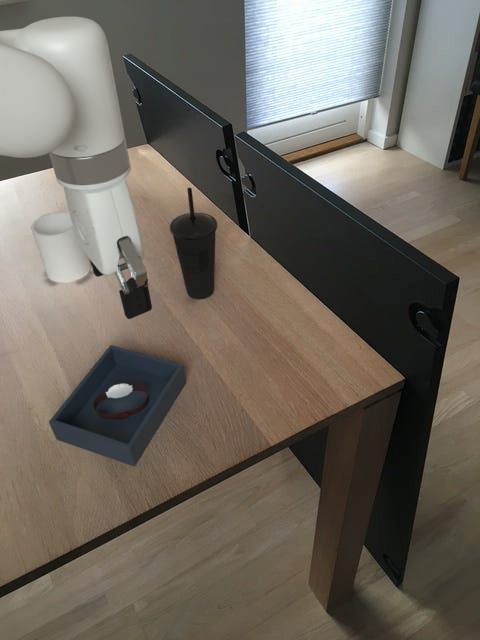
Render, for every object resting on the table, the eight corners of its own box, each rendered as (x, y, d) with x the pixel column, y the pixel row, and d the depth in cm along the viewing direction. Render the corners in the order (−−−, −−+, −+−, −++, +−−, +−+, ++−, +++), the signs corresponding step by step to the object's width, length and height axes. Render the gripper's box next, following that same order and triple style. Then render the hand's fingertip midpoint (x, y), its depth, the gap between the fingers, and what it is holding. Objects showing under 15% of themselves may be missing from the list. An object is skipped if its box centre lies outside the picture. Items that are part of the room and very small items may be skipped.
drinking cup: (228, 281, 97) (221, 180, 84) (212, 308, 92) (203, 204, 78) (189, 274, 99) (176, 174, 86) (172, 300, 94) (155, 197, 80)
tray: (134, 466, 69) (129, 449, 66) (56, 439, 73) (48, 421, 70) (186, 382, 79) (183, 364, 77) (115, 362, 83) (110, 344, 80)
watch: (147, 389, 78) (143, 372, 76) (153, 413, 75) (149, 396, 72) (94, 402, 77) (88, 386, 74) (98, 428, 73) (92, 411, 71)
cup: (113, 272, 101) (102, 226, 94) (48, 286, 98) (32, 240, 91) (107, 249, 106) (96, 204, 100) (45, 262, 104) (30, 216, 97)
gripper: (29, 140, 58) (68, 268, 69) (85, 206, 47) (122, 345, 58) (94, 123, 61) (122, 248, 72) (162, 181, 50) (183, 319, 61)
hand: (122, 291), depth 65 cm, fingers open, 9 cm apart
